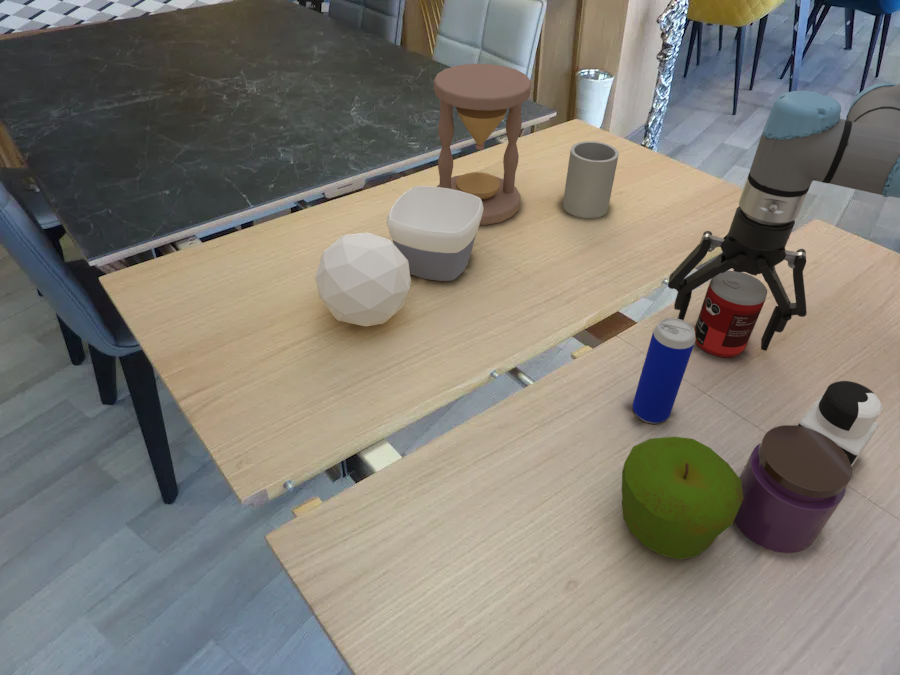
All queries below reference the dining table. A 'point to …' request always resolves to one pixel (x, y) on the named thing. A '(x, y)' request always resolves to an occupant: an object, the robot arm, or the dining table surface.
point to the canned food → (729, 313)
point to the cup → (590, 179)
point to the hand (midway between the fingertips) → (720, 335)
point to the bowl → (435, 230)
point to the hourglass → (482, 130)
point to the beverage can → (663, 369)
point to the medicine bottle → (845, 416)
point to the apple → (678, 495)
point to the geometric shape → (363, 279)
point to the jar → (791, 488)
